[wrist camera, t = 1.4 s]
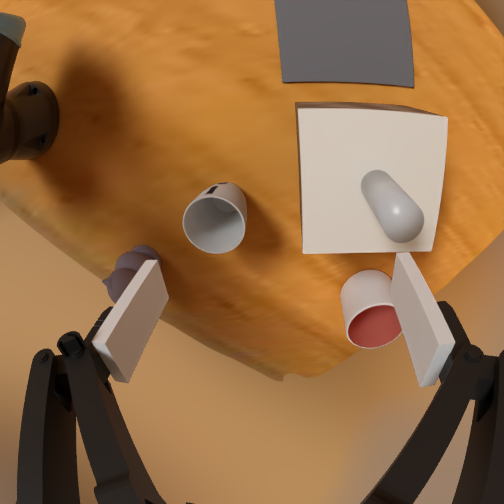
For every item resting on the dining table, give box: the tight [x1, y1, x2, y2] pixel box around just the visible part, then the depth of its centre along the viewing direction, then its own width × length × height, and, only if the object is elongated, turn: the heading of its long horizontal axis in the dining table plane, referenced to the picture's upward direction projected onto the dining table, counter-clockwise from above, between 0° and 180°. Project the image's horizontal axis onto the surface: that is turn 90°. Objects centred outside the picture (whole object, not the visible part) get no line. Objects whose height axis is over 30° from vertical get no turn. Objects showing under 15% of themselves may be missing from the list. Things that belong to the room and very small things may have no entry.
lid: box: [298, 108, 448, 254], centre depth 27 cm, size 16×16×11 cm
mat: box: [274, 0, 414, 87], centre depth 32 cm, size 19×18×1 cm
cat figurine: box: [102, 245, 161, 304], centre depth 50 cm, size 8×8×12 cm
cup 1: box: [183, 182, 247, 254], centre depth 43 cm, size 8×8×10 cm
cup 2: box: [340, 270, 403, 349], centre depth 49 cm, size 10×10×10 cm
